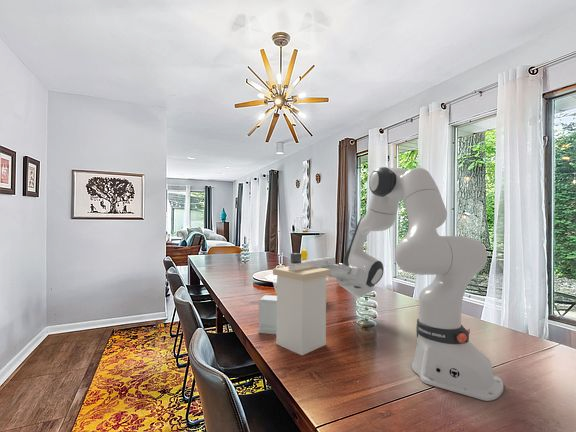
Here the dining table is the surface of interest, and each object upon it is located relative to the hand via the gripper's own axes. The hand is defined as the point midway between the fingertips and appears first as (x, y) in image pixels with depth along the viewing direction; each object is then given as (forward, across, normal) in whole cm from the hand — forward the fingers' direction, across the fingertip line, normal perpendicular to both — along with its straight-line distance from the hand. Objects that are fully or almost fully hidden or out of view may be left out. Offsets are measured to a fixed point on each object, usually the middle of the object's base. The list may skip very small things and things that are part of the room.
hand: (329, 263), depth 119 cm
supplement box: (-1, -17, +30) cm, 35 cm away
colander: (-31, -37, +12) cm, 50 cm away
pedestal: (0, 0, +30) cm, 31 cm away
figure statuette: (-60, -60, -5) cm, 85 cm away
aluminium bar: (+7, 0, +4) cm, 8 cm away
